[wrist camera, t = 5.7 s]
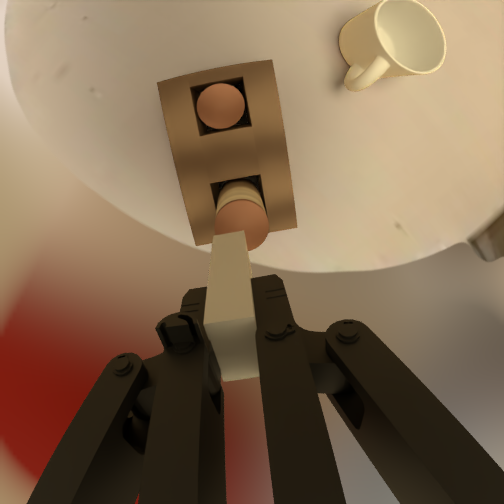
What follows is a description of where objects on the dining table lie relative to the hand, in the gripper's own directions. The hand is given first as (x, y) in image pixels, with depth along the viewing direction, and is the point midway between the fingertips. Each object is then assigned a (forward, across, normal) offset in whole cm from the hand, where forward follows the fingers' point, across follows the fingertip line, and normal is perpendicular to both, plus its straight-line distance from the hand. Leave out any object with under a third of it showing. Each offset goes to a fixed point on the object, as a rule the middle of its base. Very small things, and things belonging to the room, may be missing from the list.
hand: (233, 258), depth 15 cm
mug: (+21, +17, +13) cm, 30 cm away
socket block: (+21, 0, +4) cm, 21 cm away
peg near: (+15, 0, -1) cm, 15 cm away
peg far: (+20, 0, +8) cm, 22 cm away
